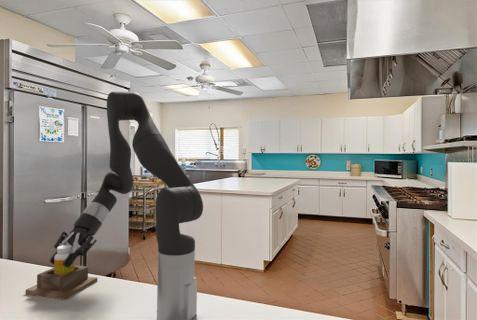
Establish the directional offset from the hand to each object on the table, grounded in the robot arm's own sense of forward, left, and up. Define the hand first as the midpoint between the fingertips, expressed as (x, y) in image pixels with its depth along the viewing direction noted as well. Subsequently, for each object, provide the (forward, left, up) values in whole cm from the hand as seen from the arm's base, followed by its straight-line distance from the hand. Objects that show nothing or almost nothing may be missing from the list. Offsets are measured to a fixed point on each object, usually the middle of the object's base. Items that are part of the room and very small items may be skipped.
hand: (58, 264), depth 89 cm
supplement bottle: (0, -2, -5) cm, 5 cm away
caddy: (0, -2, -8) cm, 8 cm away
